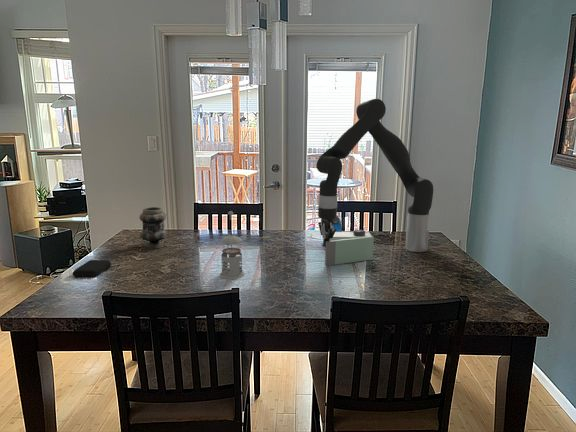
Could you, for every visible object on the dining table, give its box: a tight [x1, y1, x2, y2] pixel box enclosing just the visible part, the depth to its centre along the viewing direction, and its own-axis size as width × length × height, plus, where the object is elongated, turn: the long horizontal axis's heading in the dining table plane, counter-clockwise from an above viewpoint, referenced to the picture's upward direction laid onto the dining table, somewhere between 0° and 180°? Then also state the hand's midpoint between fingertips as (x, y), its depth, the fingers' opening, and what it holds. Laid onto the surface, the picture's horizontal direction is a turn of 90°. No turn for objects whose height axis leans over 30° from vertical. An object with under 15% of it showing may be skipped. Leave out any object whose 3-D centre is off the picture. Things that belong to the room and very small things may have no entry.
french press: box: [219, 210, 246, 280], centre depth 162 cm, size 10×12×25 cm
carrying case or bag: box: [72, 259, 113, 279], centre depth 166 cm, size 11×3×15 cm
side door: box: [324, 235, 375, 266], centre depth 176 cm, size 22×1×10 cm, turn 111°
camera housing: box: [330, 229, 372, 241], centre depth 185 cm, size 18×8×12 cm, turn 88°
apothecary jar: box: [139, 206, 168, 250], centre depth 198 cm, size 12×12×18 cm
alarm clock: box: [333, 215, 343, 232], centre depth 202 cm, size 13×6×15 cm, turn 5°
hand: (326, 247), depth 175 cm, fingers closed
